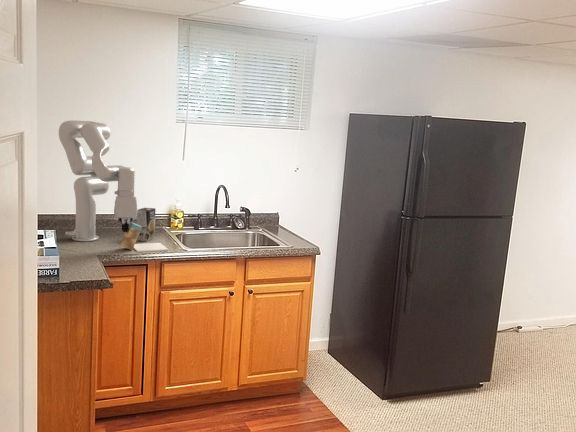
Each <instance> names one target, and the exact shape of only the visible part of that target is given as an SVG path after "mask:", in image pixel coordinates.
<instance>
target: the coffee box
mask: <svg viewBox="0 0 576 432" xmlns="http://www.w3.org/2000/svg"><path fill="white" fill-rule="evenodd" d="M136 224H137V225H140V226H141V227H142V230H141V232H140V234H139V236H138V238H137V240H136V241H140V242H149V241H152V240H154V239H155V238H156V237H155V233H156V208H153V207H142V208H139V209H137V219H136Z"/></svg>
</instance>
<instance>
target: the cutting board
mask: <svg viewBox="0 0 576 432" xmlns="http://www.w3.org/2000/svg"><path fill="white" fill-rule="evenodd" d="M132 250H134V251H136V252H137V253H149V252H169V249H168V248H167V247H166V245H164V244H162V243H161V242H149V243H135V245H134V247H133V249H132Z"/></svg>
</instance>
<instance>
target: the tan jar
mask: <svg viewBox="0 0 576 432" xmlns="http://www.w3.org/2000/svg"><path fill="white" fill-rule="evenodd" d="M141 230H142V227H141V226H140V225H137V223H135V222H132V221H131V222H130V223H129V230H128V232H124V234H123V237H122V238H121V241H120V244H119V245H120V246H121V247H122V248H125V249H126V250H127V249H128V250H131V251H133V250H134V249H133V247H134V245H135V244H137V241H138V240H137V238H138V236H139V234H140V232H141Z"/></svg>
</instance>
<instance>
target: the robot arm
mask: <svg viewBox="0 0 576 432" xmlns="http://www.w3.org/2000/svg"><path fill="white" fill-rule="evenodd" d="M110 136H111V129H110V127H109V126H108V125H107V124H106V123H103V122H96V121H90V120H66V121H65V120H64V121H63V122H61V124H60V125H59V128H58V138H59V142H60V143H61V145H62V148H63V149H64V151H65V155H66V157H67V160H68V163H69V167H70V169H71V173H73V174H74V175H75V176H79V177H77V178H76V179H75V181H74V182H73V191H74V197H75V228H74V230H72V231H65V236H68V237H71V239H72V240H73V241H76V242H94V241H98V240H99V235H96V230H97V229H96V225H97V224H96V222H97V219H96V218H97V217H96V216H97V213H96V212H97V204H96V201H95V199H94V197H93V196H98V195H104V194H107V193H108V191H109V187H110V186H109V185H110V184H109V182H111V183H112V182H117V190H116V191H114V192H113V193H114V194H115V195H116V196H115V200H114V209H113V214H114V216H113V220H114V221H119V222H120V223H121V231H122V232H124V233H125V232H128V230H129V223H130V222H132V221H134V220H137V210H138V204H137V197H136V196H135V174H136V173H135V169H134V168H133V167H127V166H124V165H115V164H114V165H106V164H105V163H104V161H103V159H102V157H103V156H105V155H106V154H108V152H109V150H110V145H109V143H108V142H107V140H108V139H110ZM77 138H78V139H82V138H83V140H84V141H85V143H86V144H87V146H88V147H89V148H88V149H89V150H90V151H91V153H92V155H86V152H85V150H84V147H83V145H82V144H81V143H80V142H79V141H78V140H77ZM80 176H81V177H80Z"/></svg>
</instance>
